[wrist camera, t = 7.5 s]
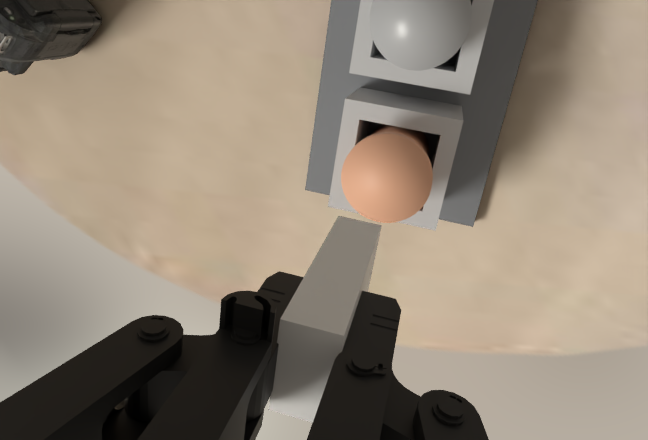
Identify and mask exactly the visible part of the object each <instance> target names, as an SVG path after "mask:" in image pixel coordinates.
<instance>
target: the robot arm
mask: <svg viewBox="0 0 648 440" xmlns="http://www.w3.org/2000/svg"><path fill="white" fill-rule="evenodd" d="M380 230H381V225H377V224H373V223H368V222H364V221H360V220H355V219H351V218H346V217H342V216H338V218H337V220H336V222H335V223H334V225H333V227H332V229H331V230H330V232H329V234H328V236H327V237H326V239H325V241H324V243H323V244H322V246H321V248H320V250H319V252H318V253H317V255H316V257H315V259H314V260H313V262H312V264H311V266H310V267H309V269H308V271H307V273H306V274H305V276H304V277H300V276H296V275H292V274H288V273H284V272H280V271H279V272H277V273H276V274H274V275H272V276H270V277H268V278H267V279H266V280H265V282H264V283H263V284H262V286H261V288H260V289H259V290H258V292H253V291H238V292H234V293H231V294H228V295H227V296H225V297H224V298H223V299H221V313H220V327H219V330H218V331H217V332H216V334H214V335H203V336H199V335H183V328H182V326H181V324H180V323H179V322H177V321H176V320H175V319H173V318H169V317H166V316H158V315H152V316H146V317H141V318H139V319H137V320H135V321H132V322H131V323H129V324H127V325H126V326H124V327H122V328H121V329H119V330H118V331H116V332H114V333H113V334H111V335H109V336H108V337H106V338H105V339H103V340H102V341H100V342H98V343H96V344H95V345H93V346H92V347H90V348H88V349H87V350H85V351H83V352H82V353H80V354H78V355H77V356H75V357H74V358H72V359H70V360H69V361H67V362H66V363H64V364H62V365H61V366H59V367H58V368H56V369H54V370H52V371H51V372H49V373H48V374H46V375H44V376H43V377H41V378H39V379H38V380H36V381H35V382H33V383H32V384H30V385H28V386H26V387H25V388H23V389H22V390H20V391H18V392H17V393H15V394H13V395H12V396H10V397H9V398H7V399H5V400H4V401H2V402H0V440H255V439H256V436H257V434H258V432H259V430H260V428H261V425H262V420H263V413H264V408H265V406H266V404H267V401H268V399H269V397H270V403H269V410H271V411H275V412H278V413H281V414H284V415H288V416H291V417H295V418H298V419H302V420H305V421H309V422H312V423H313V424H312V427H311V430H310V432H309V435H308V438H307V440H489V439H488V437H487V434H486V431H485V429H484V426H483V423H482V421H481V418H480V416H479V414H478V413H477V411H476V409H475V407H474V406H473V405H472V404H471V403H469V402H468V401H467V400H466V399H465V398H463V397H461V396H459V395H457V394H455V393H453V392H448V391H444V390H431V391H429V392H427V393H424V394H423V395H422V396H421V397H420V396H418V395H416V394H415V393H413V392H411V391H410V390H408V389H407V388H405V387H404V386H403V385H402V384H401V383H399V382H398V380H397V379H396V377H395V376H394V374H393V371H392V359H393V354H394V348H395V342H396V337H397V331H398V325H399V320H400V314H401V309H400V307H399V305H398V303H397V301H396V299H394V298H390V297H386V296H382V295H378V294H374V293H370V292H368V288H369V284H370V279H371V274H372V269H373V264H374V259H375V255H376V250H377V245H378V240H379V235H380Z"/></svg>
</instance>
